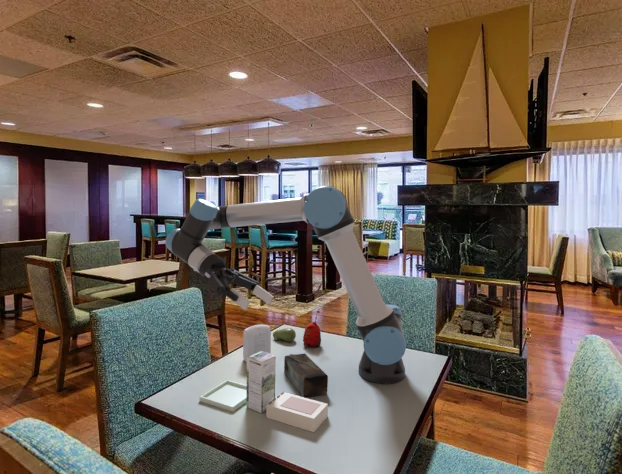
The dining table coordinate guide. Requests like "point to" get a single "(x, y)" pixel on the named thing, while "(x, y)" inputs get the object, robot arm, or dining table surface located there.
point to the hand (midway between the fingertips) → (260, 303)
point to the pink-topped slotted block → (297, 411)
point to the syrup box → (260, 380)
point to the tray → (226, 395)
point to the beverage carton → (305, 375)
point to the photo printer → (256, 340)
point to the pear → (285, 334)
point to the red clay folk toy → (312, 334)
